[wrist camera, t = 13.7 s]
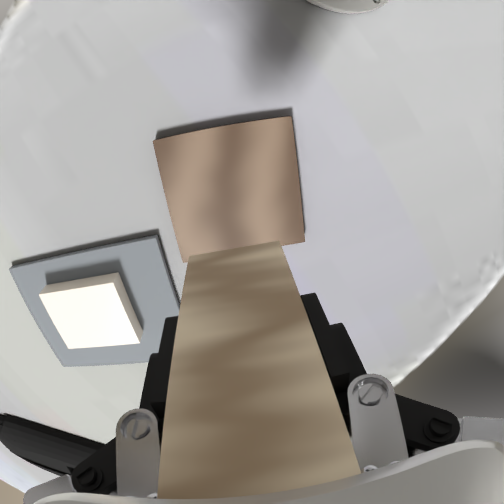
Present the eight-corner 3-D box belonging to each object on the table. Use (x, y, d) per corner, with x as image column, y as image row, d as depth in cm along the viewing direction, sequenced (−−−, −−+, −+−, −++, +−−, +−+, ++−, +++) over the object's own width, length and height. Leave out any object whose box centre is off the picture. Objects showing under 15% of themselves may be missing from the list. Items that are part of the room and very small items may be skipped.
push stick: (279, 240, 14) (368, 496, 4) (287, 312, 16) (346, 530, 6) (189, 255, 14) (155, 521, 4) (208, 325, 16) (209, 548, 6)
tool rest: (289, 115, 26) (291, 116, 25) (302, 237, 32) (305, 241, 31) (155, 139, 26) (152, 141, 25) (184, 258, 32) (183, 262, 31)
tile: (143, 330, 34) (118, 271, 31) (139, 343, 32) (113, 282, 29) (74, 337, 34) (46, 284, 31) (68, 348, 32) (38, 294, 29)
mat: (157, 234, 30) (155, 237, 29) (196, 352, 37) (195, 357, 37) (12, 266, 30) (9, 269, 29) (65, 362, 37) (63, 366, 37)
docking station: (-23, 395, 43) (-31, 411, 38) (144, 449, 49) (141, 470, 45) (11, 447, 53) (7, 461, 49) (149, 487, 60) (148, 503, 56)
